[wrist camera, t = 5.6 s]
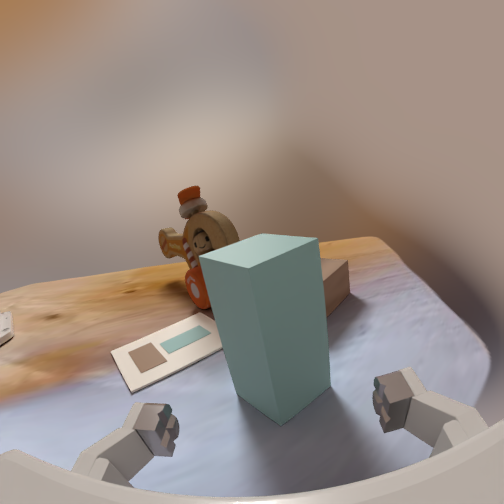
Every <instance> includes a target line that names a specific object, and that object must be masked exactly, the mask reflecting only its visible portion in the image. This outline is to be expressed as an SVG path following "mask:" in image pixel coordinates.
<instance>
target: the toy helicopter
mask: <svg viewBox="0 0 504 504" xmlns="http://www.w3.org/2000/svg"><path fill="white" fill-rule="evenodd" d="M178 198H179V202H180V204H181V206H180V209H179V212H180V215H181V217H182V218H185V219H189V220H188V221H187V223H186V226H185V228H184V232H183V234H177V232H176V231H175V230H174V229H173V228H165V229H161V230H160V232H159V244H160V248H161V250H162V252H163V254H164V256H165V257H166V258H172V257H175V256H180V257H182V258H184V259H186V262H187V264H188V266H189V268H190V270H188V271H187V273H186V276H185V283H186V287H187V291H188V293H189V295H190V297H191V299H192V300H193V302H194V303H195V304H196V305H197V306H198V307H199V308H201V309H207V308H209V307H211V303H210V300H209V296H208V292H207V288H206V284H205V280H204V276H203V272H202V268H201V264H200V260H199V256H200V255H203V254H206V253H209V252H211V251H214V250H217V249H220V248H223V247H225V246H228V245H231V244H234V243H237V242H239V241H240V240H239V237H238V234H237V231H236V229H235V227H234V225H233V224H232V222H231V221H230V220H229V219H228V218H227V217H226V216H225V215H223V214H221V213H220V212H217V211H205V210H206V209H207V203H206V201H205V200H204V199H203V198H201V197H200V187H199V186H192V187H189V188H186V189H184V190H182V191H180V192H179V193H178Z"/></svg>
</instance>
